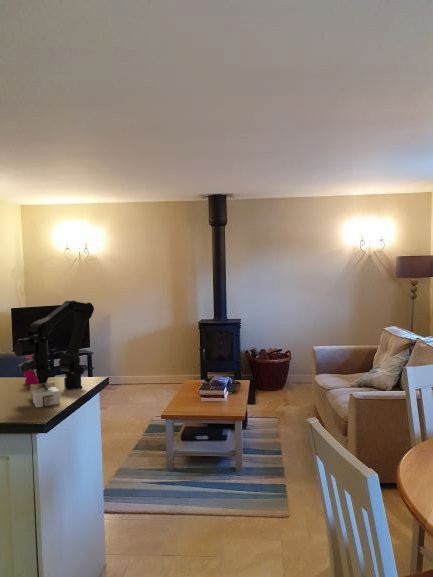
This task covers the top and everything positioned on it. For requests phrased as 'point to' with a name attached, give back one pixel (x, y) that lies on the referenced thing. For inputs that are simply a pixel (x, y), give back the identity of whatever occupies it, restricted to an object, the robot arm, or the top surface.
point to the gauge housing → (41, 392)
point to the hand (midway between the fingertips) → (41, 389)
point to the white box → (46, 399)
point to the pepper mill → (30, 374)
